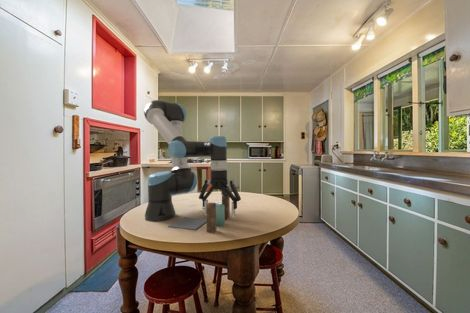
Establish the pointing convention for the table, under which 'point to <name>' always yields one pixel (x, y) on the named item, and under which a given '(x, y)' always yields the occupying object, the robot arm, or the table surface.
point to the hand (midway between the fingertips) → (219, 215)
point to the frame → (212, 213)
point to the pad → (188, 223)
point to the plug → (220, 215)
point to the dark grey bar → (229, 189)
